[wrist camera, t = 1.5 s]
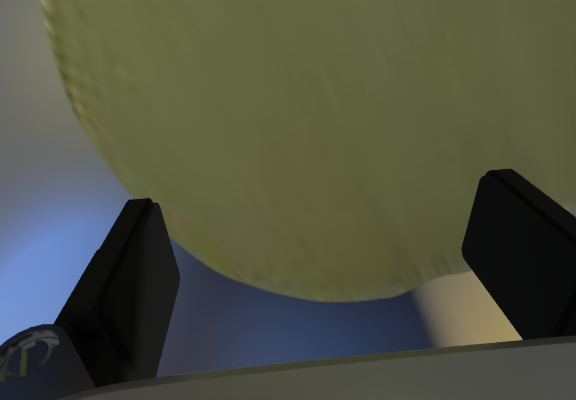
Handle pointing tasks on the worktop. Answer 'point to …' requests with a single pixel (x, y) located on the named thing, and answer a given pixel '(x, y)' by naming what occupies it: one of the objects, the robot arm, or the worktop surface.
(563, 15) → the worktop surface
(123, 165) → the worktop surface
